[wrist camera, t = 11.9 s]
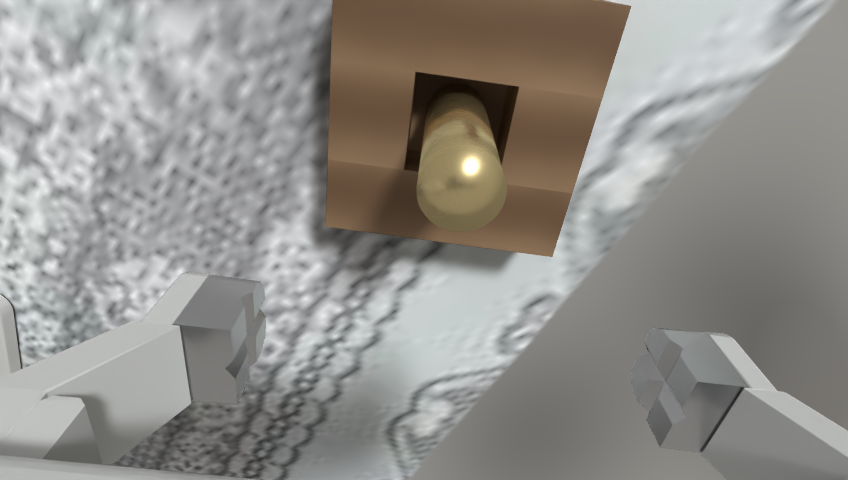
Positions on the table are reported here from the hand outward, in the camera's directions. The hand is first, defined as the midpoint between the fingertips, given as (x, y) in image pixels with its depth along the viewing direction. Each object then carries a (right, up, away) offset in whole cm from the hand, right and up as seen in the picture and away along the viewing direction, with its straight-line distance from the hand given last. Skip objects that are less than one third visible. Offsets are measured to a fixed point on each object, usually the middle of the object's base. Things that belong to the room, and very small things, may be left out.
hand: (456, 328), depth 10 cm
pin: (+1, +8, +14) cm, 17 cm away
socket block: (+1, +9, +15) cm, 18 cm away
